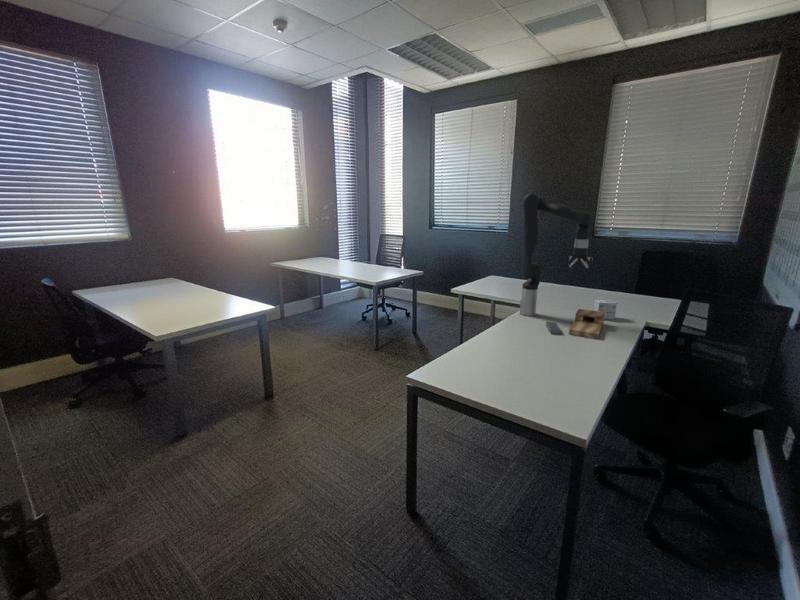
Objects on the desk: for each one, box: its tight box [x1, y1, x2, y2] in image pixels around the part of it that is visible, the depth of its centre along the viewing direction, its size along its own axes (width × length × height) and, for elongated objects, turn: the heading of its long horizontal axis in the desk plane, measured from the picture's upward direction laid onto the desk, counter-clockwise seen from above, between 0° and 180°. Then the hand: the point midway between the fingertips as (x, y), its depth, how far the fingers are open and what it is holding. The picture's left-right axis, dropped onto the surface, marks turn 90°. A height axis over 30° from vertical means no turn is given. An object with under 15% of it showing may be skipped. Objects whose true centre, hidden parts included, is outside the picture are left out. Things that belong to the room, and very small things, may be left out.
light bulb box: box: [593, 299, 618, 320], centre depth 226 cm, size 11×7×11 cm, turn 84°
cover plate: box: [545, 321, 562, 335], centre depth 206 cm, size 5×14×3 cm, turn 169°
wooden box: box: [568, 308, 605, 340], centre depth 207 cm, size 14×30×7 cm, turn 147°
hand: (578, 273), depth 220 cm, fingers open, 8 cm apart
